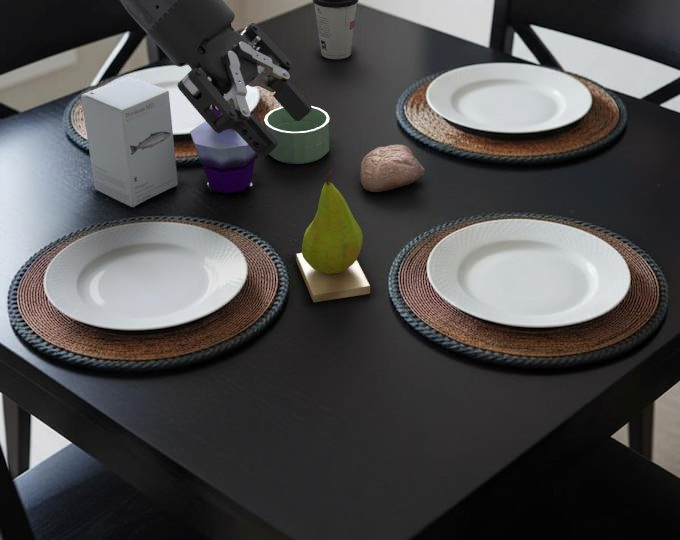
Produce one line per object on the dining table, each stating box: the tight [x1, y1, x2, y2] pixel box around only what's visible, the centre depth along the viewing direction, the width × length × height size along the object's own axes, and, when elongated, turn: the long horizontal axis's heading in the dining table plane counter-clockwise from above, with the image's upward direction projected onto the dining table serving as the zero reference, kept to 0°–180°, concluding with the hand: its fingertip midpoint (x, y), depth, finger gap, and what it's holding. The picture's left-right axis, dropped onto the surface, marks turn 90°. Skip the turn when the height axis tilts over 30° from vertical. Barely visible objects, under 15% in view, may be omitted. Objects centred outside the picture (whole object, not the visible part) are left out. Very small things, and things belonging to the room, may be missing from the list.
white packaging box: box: [80, 75, 179, 208], centre depth 123 cm, size 7×7×13 cm
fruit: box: [301, 170, 364, 274], centre depth 106 cm, size 6×6×12 cm
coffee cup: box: [312, 0, 359, 60], centre depth 159 cm, size 7×7×10 cm
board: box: [295, 252, 371, 303], centre depth 110 cm, size 6×8×1 cm
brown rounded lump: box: [359, 143, 425, 193], centre depth 126 cm, size 8×6×8 cm
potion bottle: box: [189, 94, 259, 196], centre depth 124 cm, size 9×9×12 cm
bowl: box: [263, 105, 331, 165], centre depth 133 cm, size 8×8×4 cm
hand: (288, 132), depth 102 cm, fingers open, 8 cm apart
